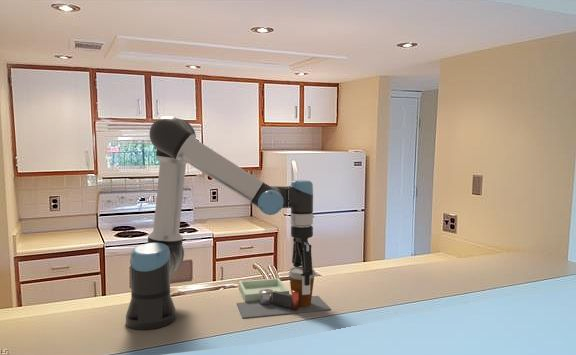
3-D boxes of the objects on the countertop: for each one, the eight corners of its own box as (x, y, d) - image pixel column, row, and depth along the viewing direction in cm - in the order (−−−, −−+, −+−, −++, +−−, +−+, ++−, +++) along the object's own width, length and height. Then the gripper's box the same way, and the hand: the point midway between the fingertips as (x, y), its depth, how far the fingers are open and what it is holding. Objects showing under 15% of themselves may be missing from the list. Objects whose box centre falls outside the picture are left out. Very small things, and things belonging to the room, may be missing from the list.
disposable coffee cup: (291, 310, 140) (292, 274, 139) (285, 300, 149) (285, 267, 149) (319, 307, 142) (319, 273, 142) (310, 298, 152) (311, 265, 151)
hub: (260, 307, 144) (260, 294, 144) (257, 302, 149) (257, 289, 149) (313, 302, 149) (313, 289, 149) (309, 297, 154) (309, 285, 153)
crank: (271, 304, 144) (271, 287, 144) (275, 302, 146) (275, 285, 146) (296, 310, 139) (296, 292, 139) (300, 308, 141) (300, 290, 141)
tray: (245, 303, 148) (245, 294, 148) (238, 288, 164) (238, 281, 163) (289, 299, 152) (289, 290, 152) (278, 285, 168) (278, 278, 167)
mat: (242, 318, 134) (242, 317, 134) (236, 304, 147) (236, 302, 147) (331, 309, 142) (331, 308, 142) (318, 296, 155) (318, 295, 155)
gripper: (323, 230, 135) (322, 299, 136) (303, 220, 156) (303, 279, 157) (300, 231, 133) (300, 301, 134) (283, 220, 154) (283, 280, 155)
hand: (301, 289), depth 146 cm, fingers closed on disposable coffee cup, 9 cm apart
